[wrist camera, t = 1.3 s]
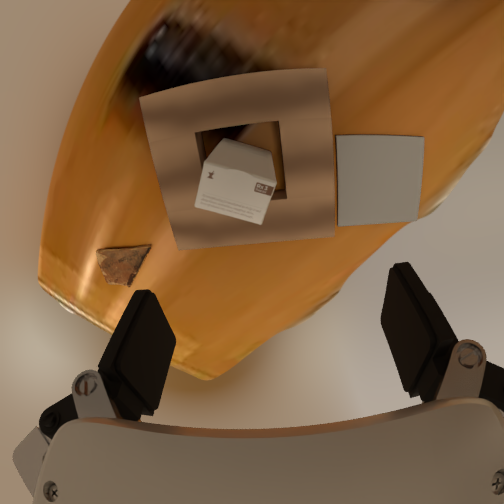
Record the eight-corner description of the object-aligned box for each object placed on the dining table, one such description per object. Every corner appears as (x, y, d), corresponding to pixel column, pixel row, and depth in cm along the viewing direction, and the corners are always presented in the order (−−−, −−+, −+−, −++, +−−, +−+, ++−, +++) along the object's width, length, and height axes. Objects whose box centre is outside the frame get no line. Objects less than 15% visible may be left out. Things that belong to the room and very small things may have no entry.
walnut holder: (149, 96, 28) (139, 97, 25) (320, 69, 25) (326, 68, 23) (184, 238, 38) (178, 250, 36) (330, 225, 36) (334, 236, 33)
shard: (154, 242, 40) (150, 248, 38) (167, 282, 44) (163, 289, 42) (97, 245, 41) (92, 252, 39) (113, 282, 45) (109, 288, 43)
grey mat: (335, 135, 29) (336, 135, 29) (422, 136, 28) (424, 137, 27) (337, 224, 36) (338, 226, 35) (415, 219, 34) (416, 221, 34)
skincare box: (214, 169, 33) (188, 210, 23) (223, 134, 30) (200, 160, 20) (263, 182, 33) (260, 230, 23) (274, 149, 31) (277, 182, 21)
